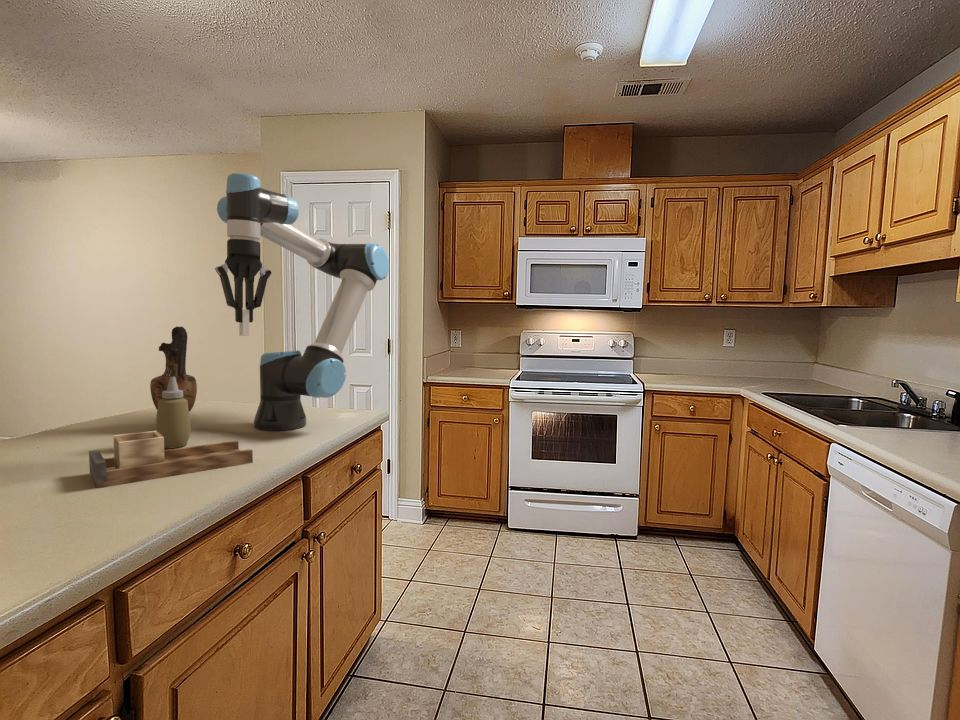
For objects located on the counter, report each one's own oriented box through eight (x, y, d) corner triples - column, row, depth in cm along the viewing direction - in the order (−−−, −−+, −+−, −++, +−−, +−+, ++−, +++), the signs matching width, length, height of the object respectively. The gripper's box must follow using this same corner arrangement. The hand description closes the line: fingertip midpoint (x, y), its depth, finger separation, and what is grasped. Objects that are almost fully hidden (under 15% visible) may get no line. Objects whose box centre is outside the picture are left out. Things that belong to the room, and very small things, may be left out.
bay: (237, 452, 132) (237, 432, 131) (252, 462, 124) (252, 441, 123) (89, 473, 112) (89, 451, 111) (96, 488, 104) (96, 463, 103)
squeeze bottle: (175, 451, 130) (173, 380, 129) (147, 448, 132) (145, 377, 130) (198, 443, 138) (197, 376, 136) (172, 440, 140) (171, 374, 138)
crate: (156, 460, 118) (156, 430, 118) (164, 469, 113) (164, 437, 112) (114, 467, 113) (113, 435, 112) (120, 476, 108) (119, 442, 107)
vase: (185, 421, 162) (184, 324, 159) (206, 428, 155) (204, 326, 152) (144, 427, 153) (141, 324, 150) (163, 434, 145) (161, 327, 143)
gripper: (265, 243, 136) (265, 334, 138) (210, 237, 127) (211, 334, 129) (276, 242, 130) (276, 336, 132) (220, 235, 121) (221, 336, 124)
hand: (244, 335), depth 131 cm, fingers closed
